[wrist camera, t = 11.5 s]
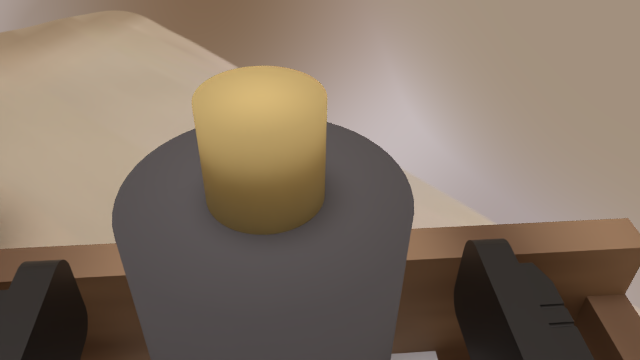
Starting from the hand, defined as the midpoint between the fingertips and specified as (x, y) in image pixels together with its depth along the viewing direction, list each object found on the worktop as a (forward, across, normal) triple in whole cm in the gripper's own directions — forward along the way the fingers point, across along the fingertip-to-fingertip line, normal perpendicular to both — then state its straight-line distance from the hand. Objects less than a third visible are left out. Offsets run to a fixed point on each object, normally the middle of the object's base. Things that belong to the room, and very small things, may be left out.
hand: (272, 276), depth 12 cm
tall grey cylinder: (-2, 0, +8) cm, 8 cm away
